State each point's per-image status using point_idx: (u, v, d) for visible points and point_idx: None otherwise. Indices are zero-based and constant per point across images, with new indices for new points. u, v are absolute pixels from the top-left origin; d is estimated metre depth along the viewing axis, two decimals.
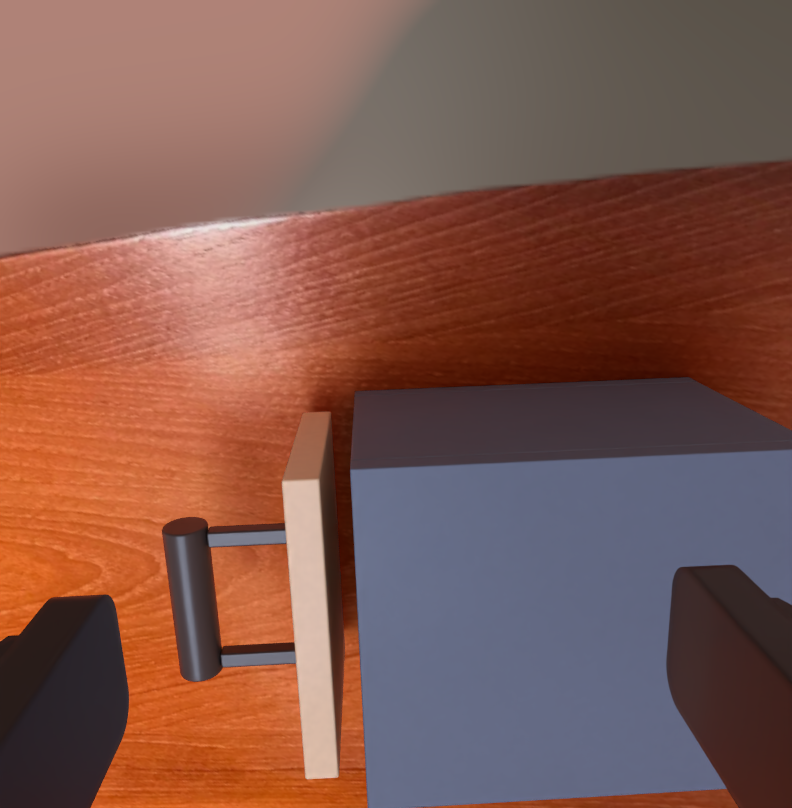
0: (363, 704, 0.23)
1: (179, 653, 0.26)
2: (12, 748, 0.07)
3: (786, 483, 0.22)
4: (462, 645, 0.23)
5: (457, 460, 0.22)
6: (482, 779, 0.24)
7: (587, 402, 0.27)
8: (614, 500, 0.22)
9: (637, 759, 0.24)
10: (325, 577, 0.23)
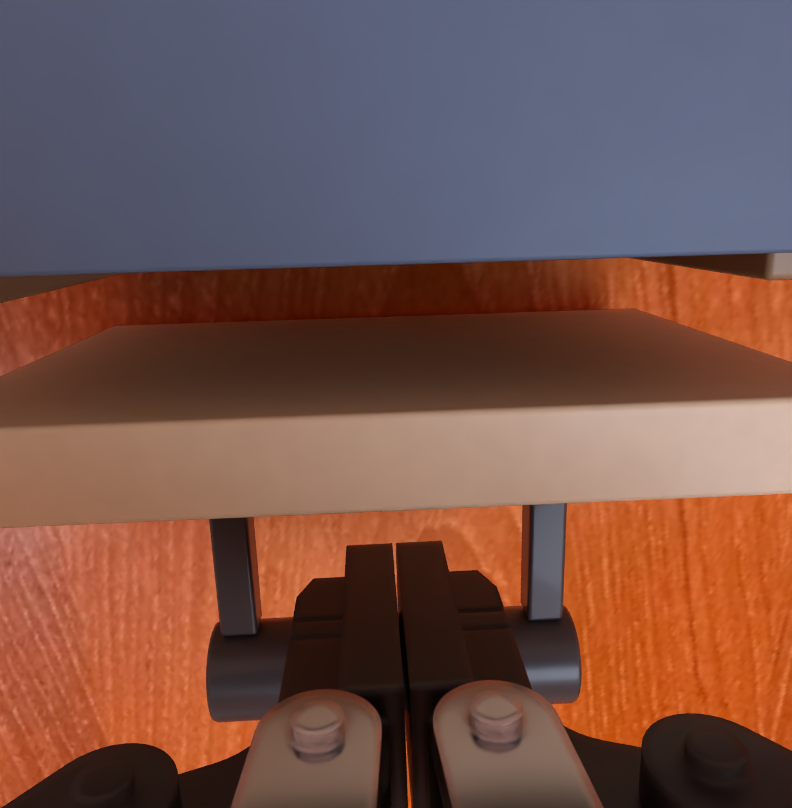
0: (602, 254, 0.07)
1: None
2: None
3: None
4: None
5: None
6: None
7: None
8: None
9: None
10: (195, 420, 0.08)
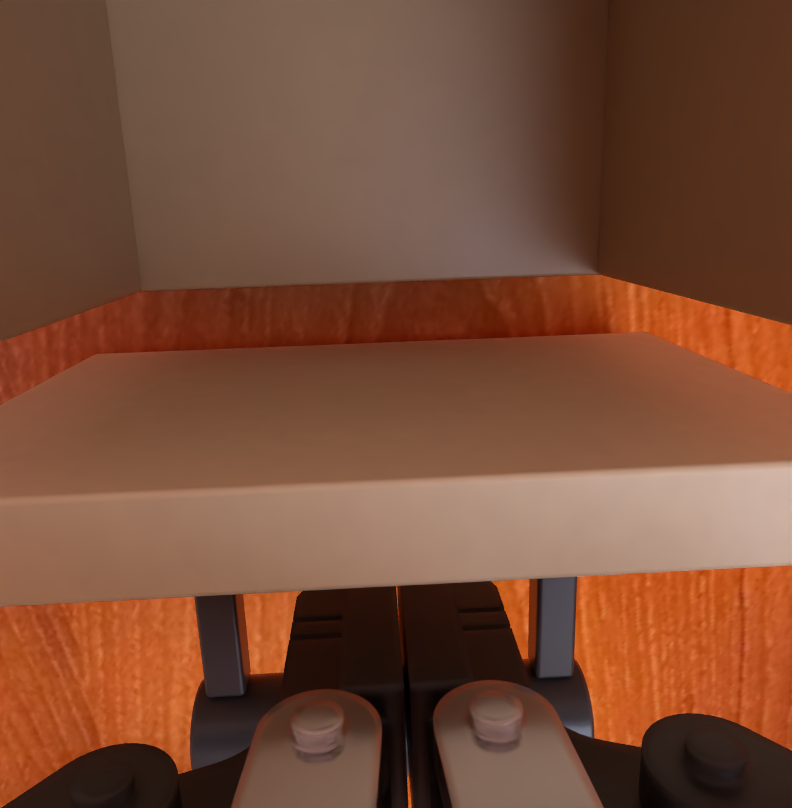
0: None
1: None
2: None
3: None
4: None
5: None
6: None
7: None
8: None
9: None
10: (167, 490, 0.07)
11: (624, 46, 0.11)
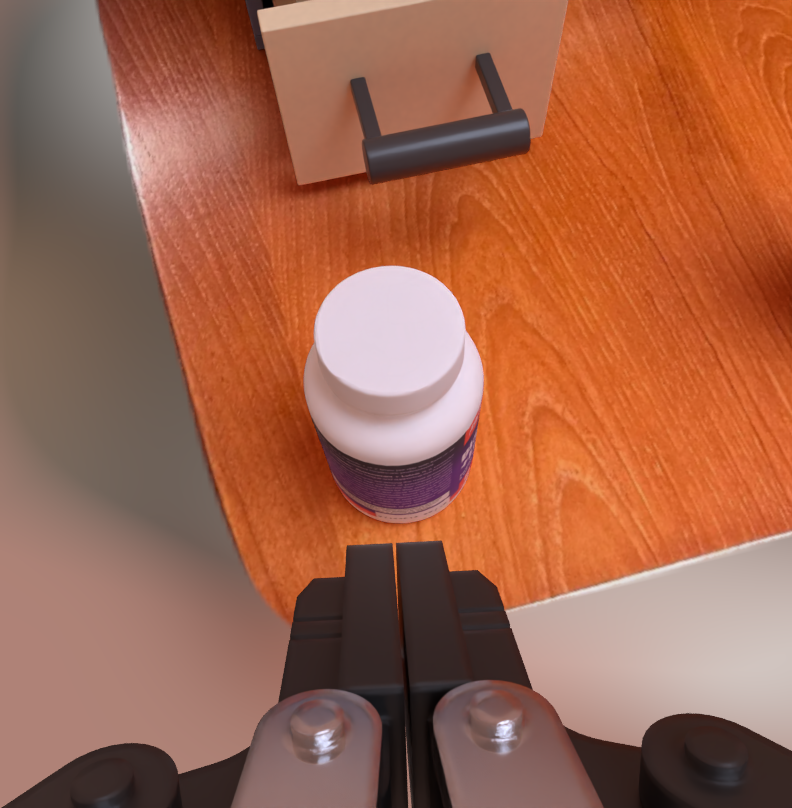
0: None
1: (502, 138, 0.26)
2: None
3: None
4: None
5: None
6: None
7: None
8: None
9: None
10: None
11: None
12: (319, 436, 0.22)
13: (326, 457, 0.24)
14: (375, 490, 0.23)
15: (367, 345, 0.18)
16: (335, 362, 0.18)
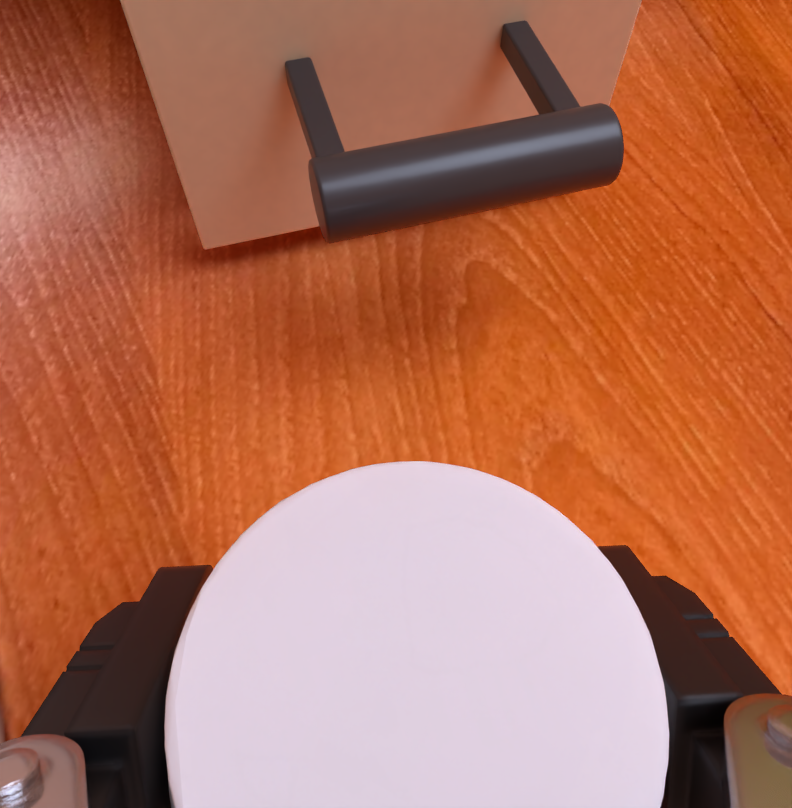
0: None
1: (573, 155, 0.14)
2: (159, 695, 0.08)
3: None
4: None
5: None
6: None
7: None
8: None
9: None
10: None
11: None
12: None
13: None
14: None
15: (348, 770, 0.05)
16: None
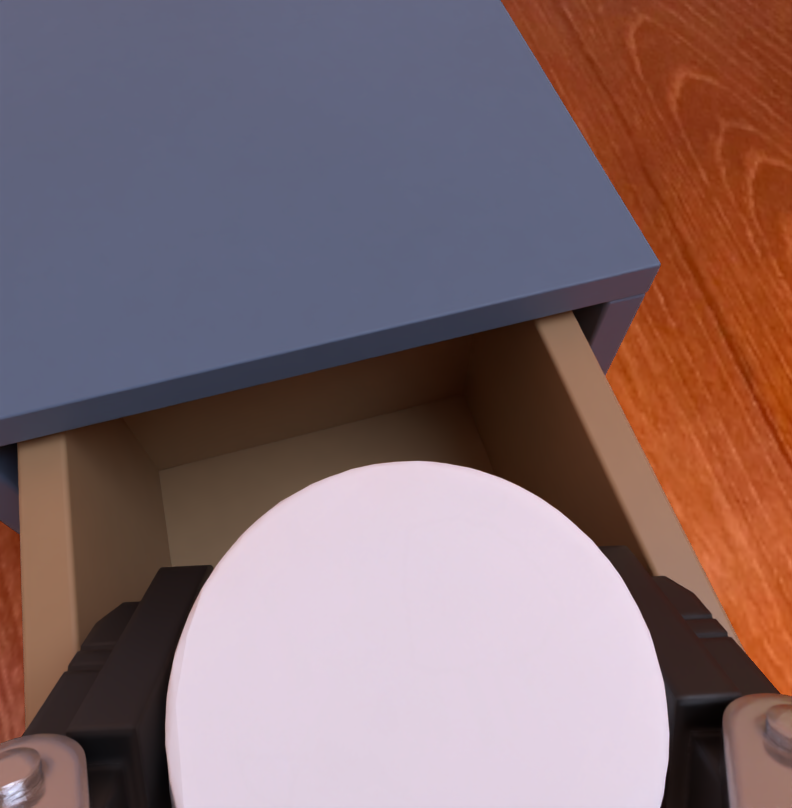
0: (422, 318, 0.12)
1: None
2: (160, 694, 0.08)
3: None
4: (262, 202, 0.13)
5: None
6: (522, 124, 0.14)
7: None
8: None
9: None
10: None
11: None
12: None
13: None
14: None
15: (350, 768, 0.05)
16: None
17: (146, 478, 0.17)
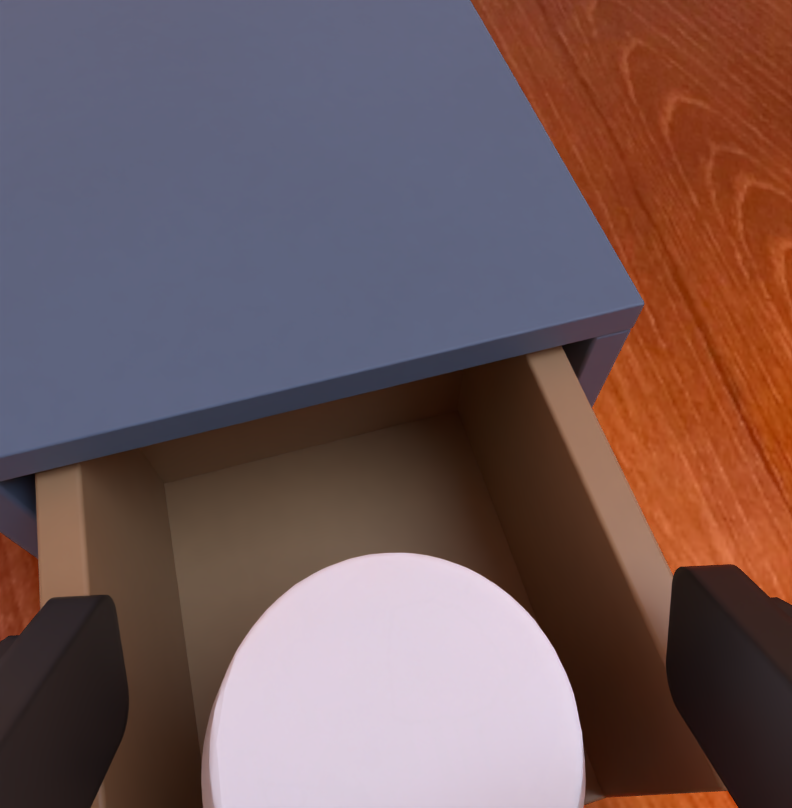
0: (419, 355, 0.12)
1: None
2: (12, 748, 0.07)
3: None
4: (267, 241, 0.14)
5: None
6: (515, 166, 0.15)
7: None
8: (4, 126, 0.15)
9: (418, 20, 0.17)
10: None
11: (547, 623, 0.17)
12: None
13: None
14: None
15: (344, 795, 0.07)
16: None
17: (152, 492, 0.18)
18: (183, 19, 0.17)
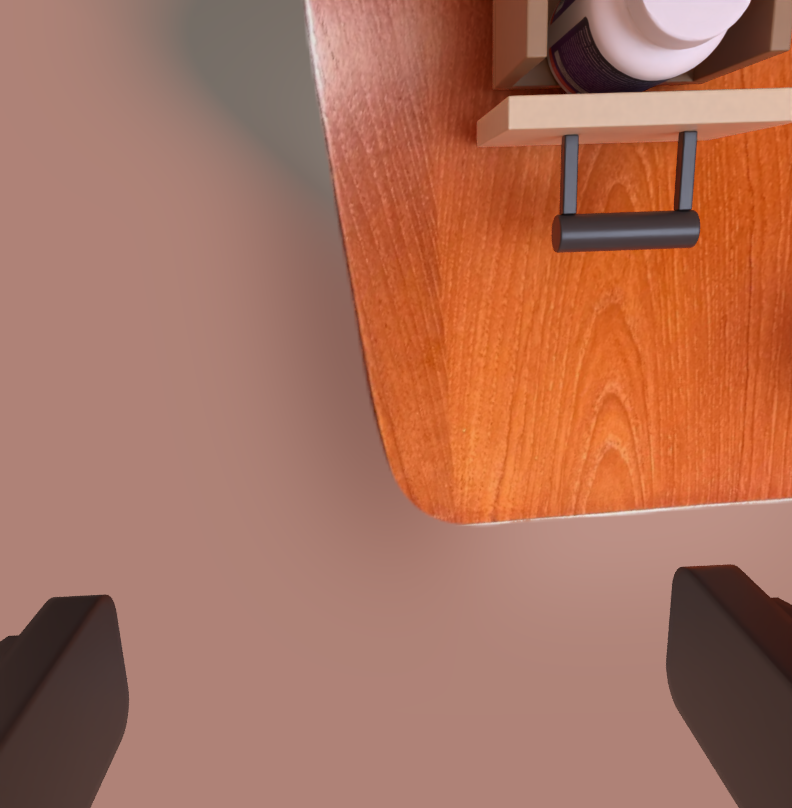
0: None
1: (672, 245, 0.31)
2: (12, 748, 0.07)
3: None
4: None
5: None
6: None
7: None
8: None
9: None
10: (600, 93, 0.27)
11: None
12: (581, 32, 0.27)
13: (564, 41, 0.29)
14: (599, 84, 0.29)
15: None
16: None
17: None
18: None
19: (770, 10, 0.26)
